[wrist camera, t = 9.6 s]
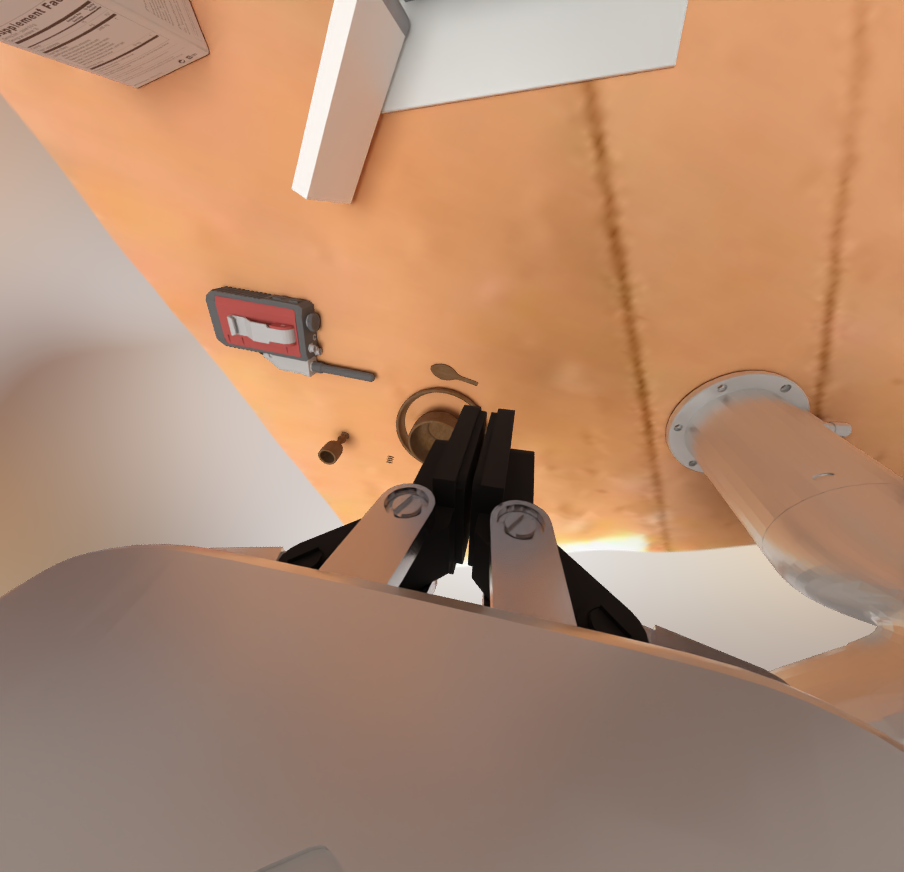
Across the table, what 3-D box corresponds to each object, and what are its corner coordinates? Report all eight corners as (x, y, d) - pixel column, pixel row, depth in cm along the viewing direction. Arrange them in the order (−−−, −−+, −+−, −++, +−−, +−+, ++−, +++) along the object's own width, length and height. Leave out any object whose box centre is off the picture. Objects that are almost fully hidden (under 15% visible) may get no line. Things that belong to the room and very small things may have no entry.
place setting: (463, 487, 49) (456, 516, 44) (336, 440, 49) (315, 464, 44) (510, 386, 39) (509, 409, 34) (352, 326, 39) (327, 341, 34)
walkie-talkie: (233, 353, 43) (378, 381, 42) (206, 365, 40) (364, 397, 38) (214, 281, 38) (378, 310, 37) (182, 287, 35) (362, 320, 33)
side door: (351, 204, 31) (307, 199, 24) (338, 195, 30) (290, 188, 24) (412, 18, 24) (373, -57, 17) (395, 4, 23) (349, -76, 17)
